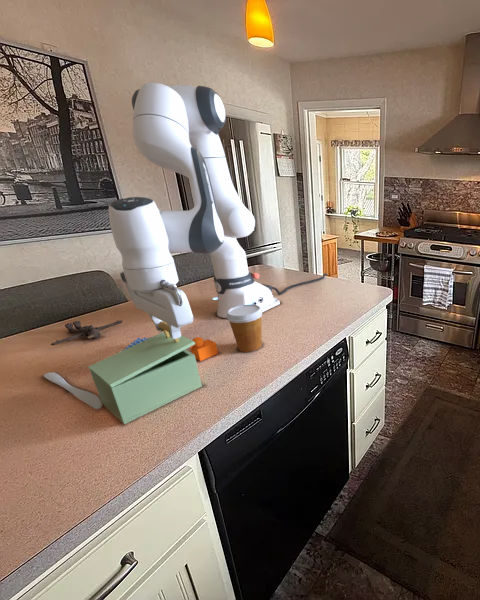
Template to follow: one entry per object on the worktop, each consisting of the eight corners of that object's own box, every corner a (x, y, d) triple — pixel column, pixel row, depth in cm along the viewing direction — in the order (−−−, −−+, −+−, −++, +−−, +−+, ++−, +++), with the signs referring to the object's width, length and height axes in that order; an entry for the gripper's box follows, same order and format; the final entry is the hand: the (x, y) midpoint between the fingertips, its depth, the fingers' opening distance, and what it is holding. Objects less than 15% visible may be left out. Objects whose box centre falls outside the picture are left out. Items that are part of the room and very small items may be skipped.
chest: (178, 371, 84) (170, 341, 81) (202, 386, 78) (194, 354, 75) (102, 403, 72) (89, 369, 69) (124, 424, 66) (111, 388, 63)
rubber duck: (210, 349, 95) (206, 330, 93) (218, 353, 93) (214, 334, 91) (188, 358, 90) (184, 339, 88) (196, 362, 88) (191, 343, 86)
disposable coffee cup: (233, 342, 99) (226, 306, 95) (266, 337, 103) (261, 301, 98) (231, 357, 91) (224, 318, 87) (268, 351, 94) (262, 313, 90)
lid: (170, 331, 81) (163, 314, 79) (195, 344, 75) (187, 326, 73) (89, 369, 69) (77, 350, 67) (111, 388, 63) (99, 368, 61)
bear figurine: (104, 311, 112) (128, 315, 106) (108, 323, 113) (132, 327, 107) (32, 332, 96) (55, 338, 90) (38, 345, 98) (61, 352, 92)
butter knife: (57, 368, 83) (41, 374, 81) (109, 403, 71) (92, 411, 69) (58, 370, 83) (41, 376, 81) (110, 406, 72) (93, 413, 69)
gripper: (193, 281, 67) (207, 340, 73) (148, 266, 77) (163, 318, 83) (159, 290, 62) (177, 352, 68) (115, 272, 73) (133, 327, 78)
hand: (169, 333), depth 75 cm, fingers closed on lid, 5 cm apart
